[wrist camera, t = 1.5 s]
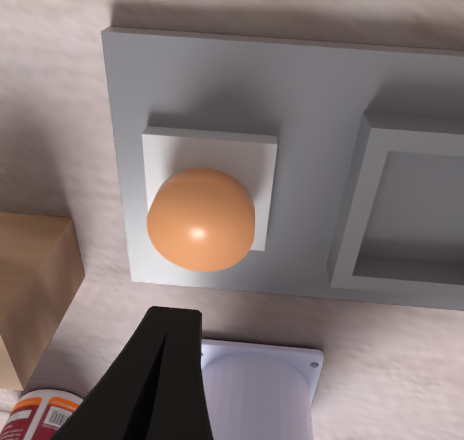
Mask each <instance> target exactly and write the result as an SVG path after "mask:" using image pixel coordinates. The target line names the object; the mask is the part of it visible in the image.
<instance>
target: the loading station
mask: <svg viewBox="0 0 464 440" xmlns="http://www.w3.org/2000/svg"><path fill="white" fill-rule="evenodd" d="M101 35H102V43H103V52H104V60H105V68H106V76H107V85H108V93H109V101H110V109H111V117H112V126H113V134H114V142H115V150H116V159H117V167H118V175H119V183H120V192H121V200H122V208H123V216H124V224H125V233H126V241H127V249H128V257H129V266H130V274H131V281H134V282H145V283H157V284H168V285H179V286H190V287H202V288H213V289H224V290H235V291H247V292H258V293H269V294H280V295H291V296H303V297H314V298H325V299H336V300H348V301H359V302H370V303H381V304H393V305H404V306H415V307H426V308H437V309H449V310H460V311H464V51H458V50H443V49H429V48H414V47H400V46H386V45H371V44H357V43H343V42H328V41H314V40H299V39H285V38H271V37H256V36H242V35H227V34H213V33H199V32H184V31H170V30H156V29H141V28H127V27H112V26H110V27H108V28H106V29H104V30H103V31H101ZM191 168H210V169H215V170H219V171H221V172H224V173H226V174H228V175H230V176H232V177H233V178H235V179H236V180H238V181H239V182H240V183H241V184H242V185H243V186H244V187H245V188H246V189H247V191H248V192H249V194H250V196H251V198H252V200H253V203H254V206H255V232H254V240H253V244H252V246H251V248H250V250H249V252H248V253H247V254H246V256H245V257H244V258H243V259H242V260H241V261H239V262H238V263H236V264H235V265H233V266H231V267H229V268H226V269H223V270H219V271H213V272H198V271H192V270H188V269H185V268H182V267H179V266H177V265H175V264H173V263H171V262H170V261H168V260H167V259H166V258H164V257H163V256H162V255H161V254H160V253H159V252H158V251H157V250H156V249H155V247H154V246H153V244H152V242H151V240H150V238H149V235H148V232H147V215H148V212H149V210H150V207H151V205H152V203H153V200H154V198H155V196H156V193H157V191H158V190H159V188H160V186H161V185H162V184H163V183H164V182H165V181H166V180H167V179H168V178H169V177H171V176H172V175H174V174H176V173H178V172H180V171H183V170H186V169H191Z"/></svg>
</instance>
